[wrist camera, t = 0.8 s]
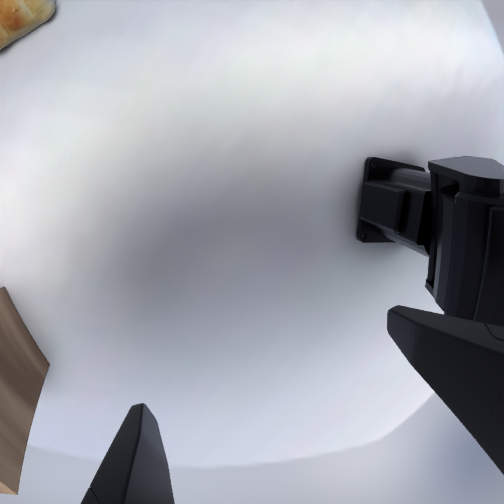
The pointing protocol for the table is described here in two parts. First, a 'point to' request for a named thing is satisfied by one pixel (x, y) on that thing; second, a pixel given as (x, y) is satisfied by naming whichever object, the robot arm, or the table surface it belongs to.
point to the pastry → (22, 18)
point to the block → (16, 391)
